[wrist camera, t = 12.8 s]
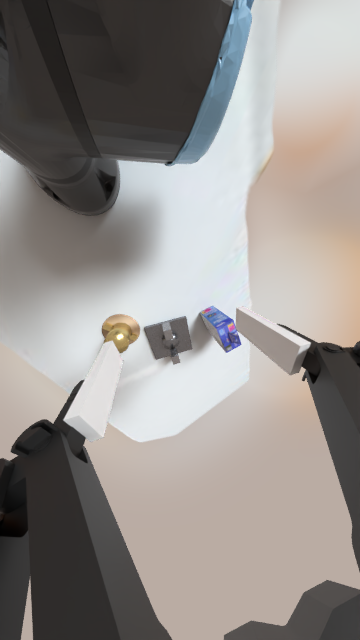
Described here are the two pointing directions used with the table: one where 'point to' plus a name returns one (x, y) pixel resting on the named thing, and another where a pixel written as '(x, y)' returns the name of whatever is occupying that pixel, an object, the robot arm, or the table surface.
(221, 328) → the ink cartridge box
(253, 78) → the table surface
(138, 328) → the coaster
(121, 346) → the bell
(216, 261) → the table surface
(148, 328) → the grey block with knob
